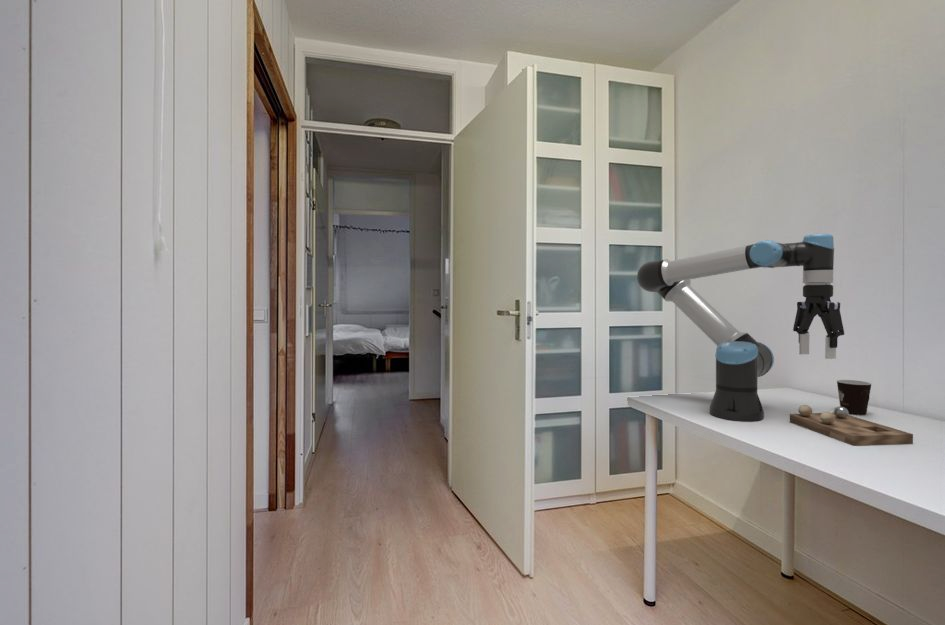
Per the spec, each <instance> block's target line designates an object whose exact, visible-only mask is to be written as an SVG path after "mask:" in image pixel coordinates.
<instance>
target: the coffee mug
mask: <svg viewBox="0 0 945 625" xmlns="http://www.w3.org/2000/svg"><path fill="white" fill-rule="evenodd" d="M836 384H837V390H838V398H839V400H838V401H839V407H840V406H841V407H844V408H846V409H847V410H848V412H849V415H852V414H853V415H852V416H866V415H867V411H868V407H869V400H870V396H871V395H870V394H871V388H872V383H871V382H868V381H862V380H854V379H853V380H852V379H837V380H836Z"/></svg>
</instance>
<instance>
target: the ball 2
mask: <svg viewBox="0 0 945 625" xmlns="http://www.w3.org/2000/svg"><path fill="white" fill-rule="evenodd" d="M821 413H822V414H821V415H820V419H821V421H822V422H824V423H826V424H832V423H833V422H834V421H835V416H834V414H832V413H833V412H830V411H823V412H821Z"/></svg>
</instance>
